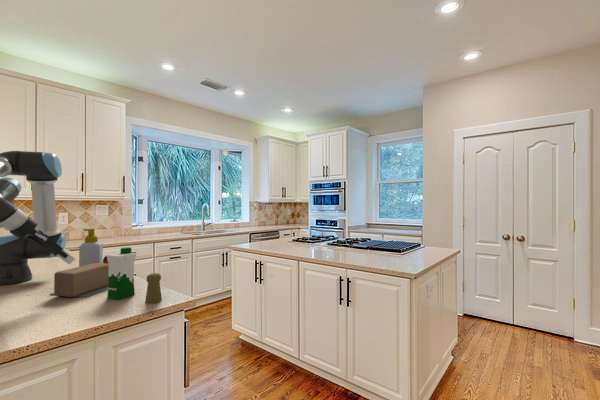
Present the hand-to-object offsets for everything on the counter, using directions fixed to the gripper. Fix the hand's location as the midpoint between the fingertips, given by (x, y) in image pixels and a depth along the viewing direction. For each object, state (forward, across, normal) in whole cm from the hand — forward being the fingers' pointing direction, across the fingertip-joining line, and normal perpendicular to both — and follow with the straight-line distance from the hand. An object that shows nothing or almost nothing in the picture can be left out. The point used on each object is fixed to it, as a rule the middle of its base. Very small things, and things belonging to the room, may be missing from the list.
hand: (71, 261), depth 121 cm
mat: (+17, -6, -5) cm, 19 cm away
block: (+5, -2, -9) cm, 10 cm away
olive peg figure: (+21, +33, 0) cm, 39 cm away
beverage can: (+28, -17, +6) cm, 33 cm away
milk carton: (+19, +16, -3) cm, 25 cm away
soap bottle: (+26, -31, +4) cm, 41 cm away
